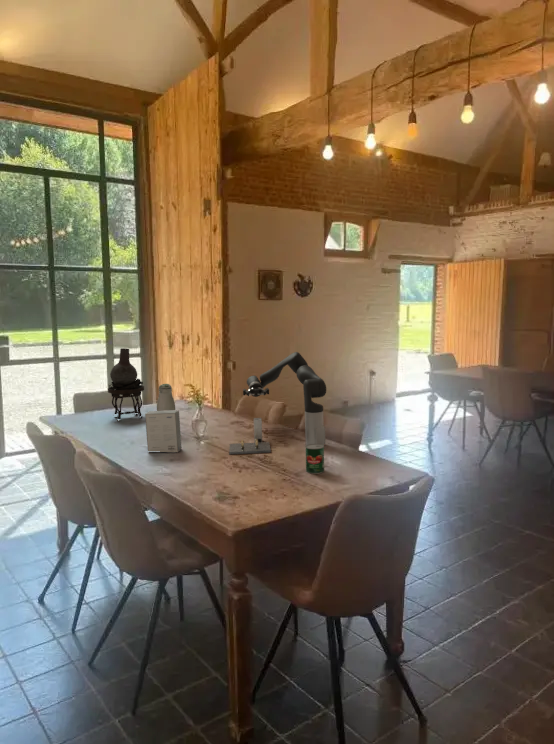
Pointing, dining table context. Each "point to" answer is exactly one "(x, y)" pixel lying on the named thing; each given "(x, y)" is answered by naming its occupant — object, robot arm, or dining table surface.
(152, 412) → the hard drive box
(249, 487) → the dining table surface
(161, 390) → the grey bottle
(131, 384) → the brazier
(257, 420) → the block
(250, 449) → the pin tray
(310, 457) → the canned tomato
